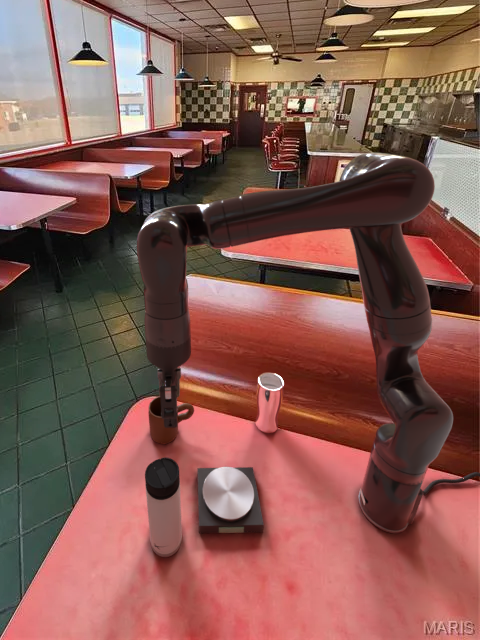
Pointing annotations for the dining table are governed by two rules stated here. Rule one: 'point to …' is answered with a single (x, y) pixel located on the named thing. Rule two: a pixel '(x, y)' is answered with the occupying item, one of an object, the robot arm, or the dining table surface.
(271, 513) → the dining table surface
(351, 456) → the dining table surface
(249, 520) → the scale
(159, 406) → the mug
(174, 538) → the travel mug
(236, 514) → the scale pan
